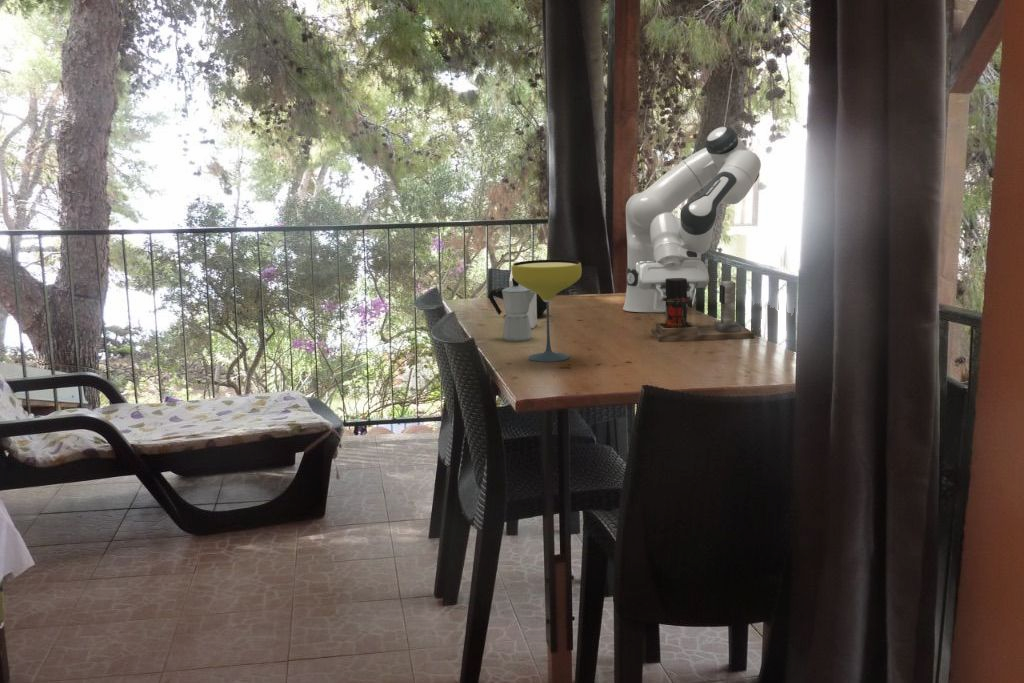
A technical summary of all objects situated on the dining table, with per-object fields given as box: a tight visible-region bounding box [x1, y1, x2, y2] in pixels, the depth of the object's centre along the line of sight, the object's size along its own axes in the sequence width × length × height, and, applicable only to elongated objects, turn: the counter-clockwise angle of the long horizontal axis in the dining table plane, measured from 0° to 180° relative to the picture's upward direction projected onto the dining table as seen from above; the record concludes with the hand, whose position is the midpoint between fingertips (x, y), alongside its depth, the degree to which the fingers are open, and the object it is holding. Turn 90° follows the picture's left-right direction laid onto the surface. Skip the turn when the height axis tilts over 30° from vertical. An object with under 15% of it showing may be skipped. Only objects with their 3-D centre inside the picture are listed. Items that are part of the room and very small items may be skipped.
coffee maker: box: [488, 278, 535, 342], centre depth 281 cm, size 15×9×18 cm, turn 71°
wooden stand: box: [651, 280, 755, 343], centre depth 276 cm, size 27×11×16 cm, turn 92°
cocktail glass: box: [512, 259, 583, 363], centre depth 253 cm, size 18×18×25 cm
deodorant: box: [665, 278, 688, 328], centre depth 276 cm, size 6×6×15 cm
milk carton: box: [508, 266, 538, 329], centre depth 300 cm, size 7×7×19 cm
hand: (676, 298), depth 275 cm, fingers open, 6 cm apart
